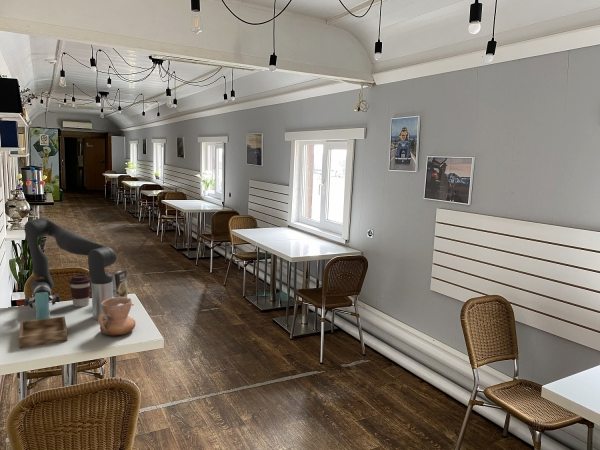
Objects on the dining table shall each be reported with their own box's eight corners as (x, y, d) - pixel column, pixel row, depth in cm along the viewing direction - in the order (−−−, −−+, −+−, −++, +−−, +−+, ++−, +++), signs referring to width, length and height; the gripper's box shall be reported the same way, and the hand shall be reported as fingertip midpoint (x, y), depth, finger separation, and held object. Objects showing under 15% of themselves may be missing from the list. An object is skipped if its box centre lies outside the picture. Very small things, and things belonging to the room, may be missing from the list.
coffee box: (117, 304, 238) (116, 274, 235) (106, 303, 239) (105, 273, 237) (127, 299, 247) (127, 269, 244) (116, 298, 248) (115, 268, 245)
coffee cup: (78, 300, 242) (76, 272, 240) (95, 302, 241) (94, 274, 238) (66, 307, 232) (64, 277, 230) (84, 308, 231) (83, 279, 229)
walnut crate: (65, 325, 209) (64, 316, 208) (67, 340, 194) (66, 330, 193) (21, 331, 201) (20, 321, 200) (19, 348, 186) (18, 337, 185)
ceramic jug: (123, 322, 215) (121, 292, 213) (145, 329, 208) (143, 298, 206) (88, 335, 200) (86, 304, 198) (110, 343, 193) (108, 311, 190)
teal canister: (49, 320, 215) (48, 291, 212) (50, 324, 210) (48, 294, 208) (36, 322, 212) (34, 292, 210) (36, 326, 208) (34, 296, 205)
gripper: (24, 288, 223) (23, 298, 209) (58, 285, 230) (59, 294, 216) (25, 303, 224) (24, 314, 210) (59, 299, 231) (60, 310, 217)
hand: (42, 304), depth 213 cm, fingers open, 8 cm apart
